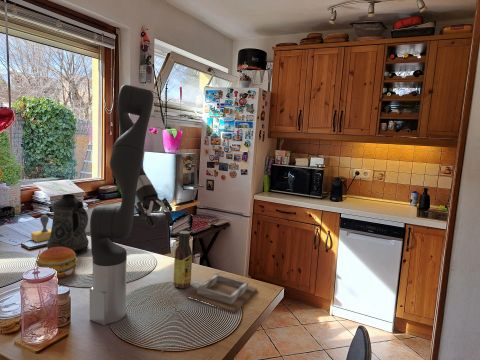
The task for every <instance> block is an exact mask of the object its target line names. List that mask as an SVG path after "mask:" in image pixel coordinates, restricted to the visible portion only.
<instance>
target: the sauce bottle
mask: <svg viewBox="0 0 480 360" xmlns="http://www.w3.org/2000/svg"><path fill="white" fill-rule="evenodd" d="M190 237H191V231H188V230H180V231H178V245H177V246H176V247H175V251H174V261H173V262H174V263H173V264H174V265H173V286H174V287H175V288H177V287H179V288H178V289H185V288H184V287H186V288H189V287H190V286H191V280H192V266H193V265H192V264H193V252H192V248H191V245H190ZM189 285H190V286H189ZM188 286H189V287H188Z"/></svg>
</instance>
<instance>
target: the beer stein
mask: <svg viewBox="0 0 480 360" xmlns="http://www.w3.org/2000/svg"><path fill="white" fill-rule="evenodd" d="M51 209H52V211H53V215H52V224H51V228H52V229H51V228H50V229H51V235H50V238H49V240H47V243H46V248H47V249H49V248H53V247H67V248H70V249H72V250H73V251H74V252H75V254H76V255H80V254H83V253H85V252H87V250H88V247H89V242H90V240H89V239H88V236H87V232H86V228H87V227H88V224H89V216H88V212H87V211H86V209H85V208H84V204H83V202H82V201H81V200H79V199H78V198H77V197H76V195H75V194H73V193H72V194H67V193H66V194H63V195H62V197H60V199H58V200H57V201H55V202H54V203H53V204H52V205H51ZM82 252H83V253H82Z"/></svg>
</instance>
